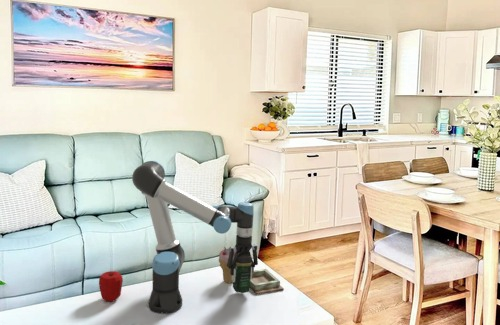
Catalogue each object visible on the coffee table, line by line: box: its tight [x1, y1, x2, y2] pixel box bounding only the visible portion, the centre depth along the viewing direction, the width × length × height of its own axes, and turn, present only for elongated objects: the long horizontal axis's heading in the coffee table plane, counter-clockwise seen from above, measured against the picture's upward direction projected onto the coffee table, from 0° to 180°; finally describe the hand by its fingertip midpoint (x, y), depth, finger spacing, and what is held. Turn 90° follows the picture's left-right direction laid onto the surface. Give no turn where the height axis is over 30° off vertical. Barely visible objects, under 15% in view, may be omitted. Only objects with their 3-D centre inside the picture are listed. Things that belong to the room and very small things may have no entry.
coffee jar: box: [232, 253, 253, 294], centre depth 206 cm, size 10×8×19 cm
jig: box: [250, 268, 285, 296], centre depth 220 cm, size 15×22×4 cm
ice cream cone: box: [218, 247, 237, 284], centre depth 219 cm, size 11×11×20 cm
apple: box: [98, 270, 124, 303], centre depth 196 cm, size 10×10×14 cm
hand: (241, 279), depth 206 cm, fingers closed on coffee jar, 8 cm apart
